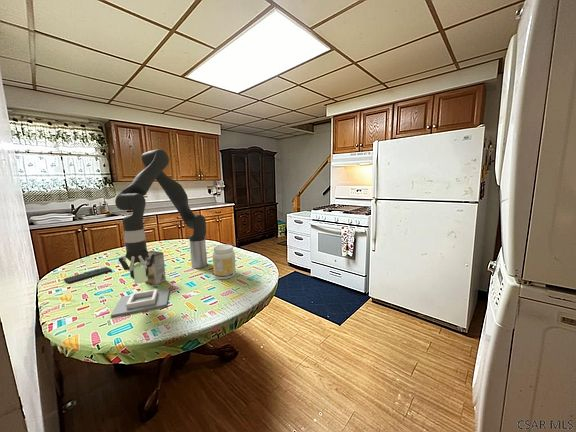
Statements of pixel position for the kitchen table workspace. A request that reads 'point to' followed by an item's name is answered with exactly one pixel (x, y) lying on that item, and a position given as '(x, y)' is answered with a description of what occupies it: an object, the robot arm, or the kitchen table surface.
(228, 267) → the supplement tub
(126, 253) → the robot arm
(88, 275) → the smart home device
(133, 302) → the holder board
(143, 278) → the candle
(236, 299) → the kitchen table surface
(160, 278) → the coffee box
